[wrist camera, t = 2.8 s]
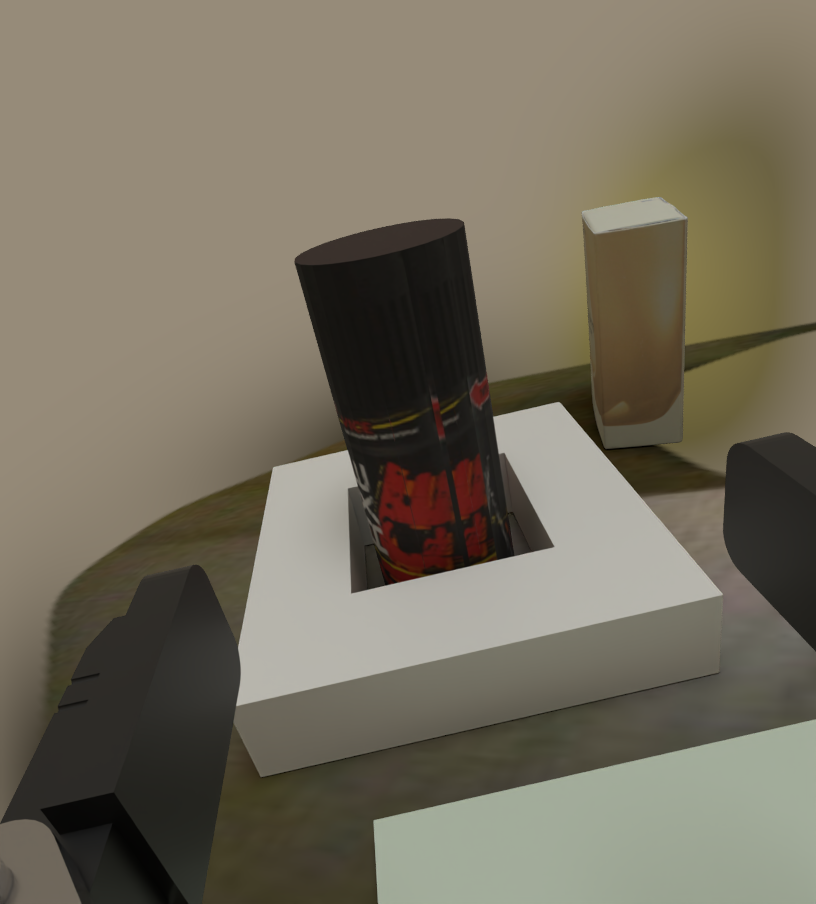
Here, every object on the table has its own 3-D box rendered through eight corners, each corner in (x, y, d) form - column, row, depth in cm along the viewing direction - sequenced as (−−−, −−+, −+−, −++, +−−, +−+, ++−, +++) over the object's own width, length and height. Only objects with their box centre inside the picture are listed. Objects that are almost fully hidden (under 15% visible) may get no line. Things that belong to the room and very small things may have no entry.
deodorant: (361, 592, 28) (260, 265, 21) (444, 524, 32) (380, 223, 25) (459, 645, 24) (375, 264, 17) (542, 560, 28) (499, 213, 21)
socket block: (564, 457, 35) (559, 401, 33) (719, 672, 21) (723, 594, 19) (291, 519, 35) (273, 467, 33) (261, 777, 21) (226, 708, 19)
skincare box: (591, 405, 40) (578, 209, 34) (662, 397, 39) (660, 194, 33) (603, 453, 35) (591, 229, 29) (686, 446, 34) (689, 212, 28)
